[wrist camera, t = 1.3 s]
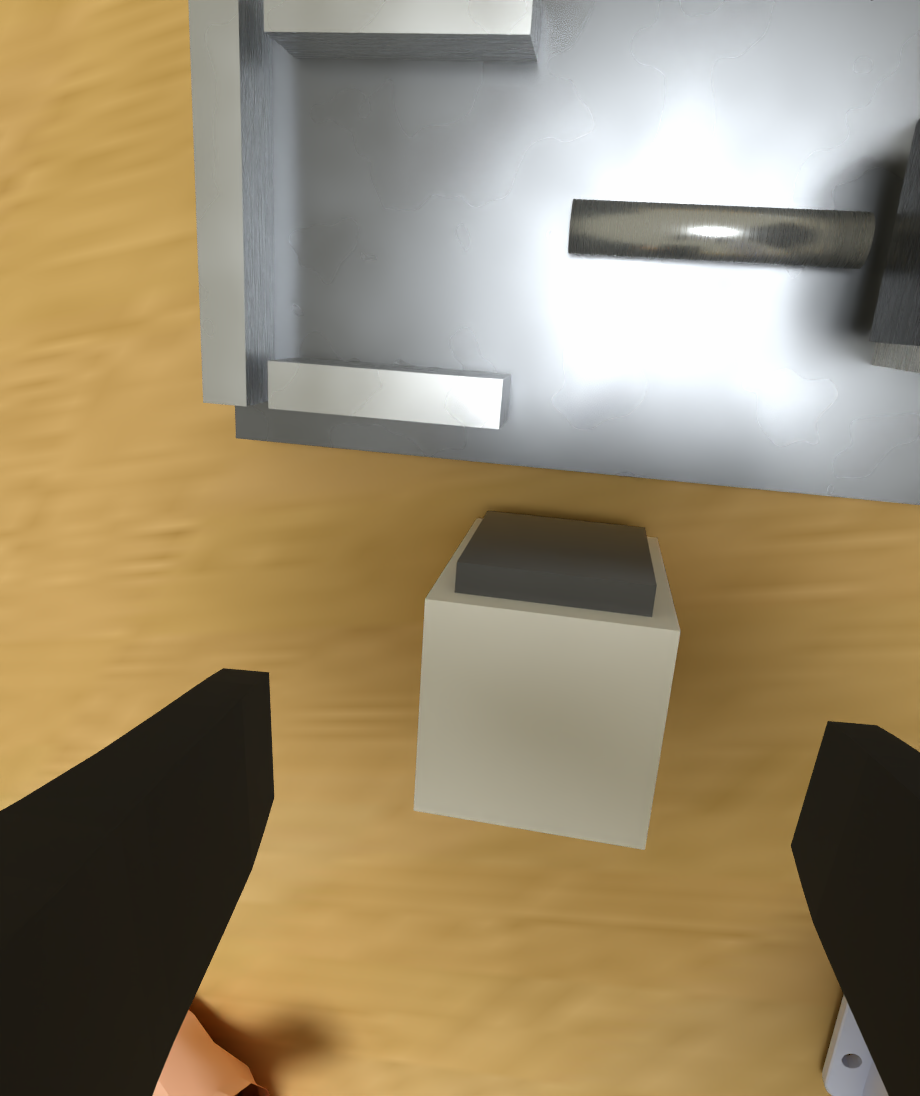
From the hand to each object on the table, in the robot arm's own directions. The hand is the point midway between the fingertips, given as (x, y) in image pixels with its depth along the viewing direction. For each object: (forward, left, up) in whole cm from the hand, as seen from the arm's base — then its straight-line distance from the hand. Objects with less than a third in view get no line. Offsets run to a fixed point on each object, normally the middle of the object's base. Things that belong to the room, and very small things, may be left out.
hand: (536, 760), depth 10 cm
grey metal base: (+7, -2, -10) cm, 12 cm away
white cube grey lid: (-1, 0, -10) cm, 10 cm away
